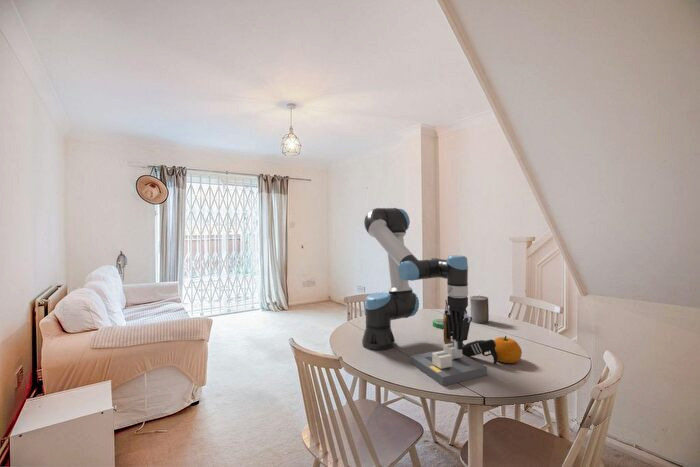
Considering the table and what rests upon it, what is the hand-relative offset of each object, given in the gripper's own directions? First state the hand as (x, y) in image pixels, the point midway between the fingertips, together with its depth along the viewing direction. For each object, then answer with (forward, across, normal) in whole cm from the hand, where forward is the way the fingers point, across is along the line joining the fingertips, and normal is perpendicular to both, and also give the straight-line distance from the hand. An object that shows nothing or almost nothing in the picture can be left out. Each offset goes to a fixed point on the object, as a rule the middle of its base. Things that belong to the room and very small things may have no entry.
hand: (458, 356), depth 124 cm
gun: (+5, -3, +12) cm, 14 cm away
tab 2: (+1, -3, 0) cm, 3 cm away
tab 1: (+1, +2, -9) cm, 9 cm away
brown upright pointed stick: (+5, -21, +16) cm, 27 cm away
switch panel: (+4, -1, -4) cm, 6 cm away
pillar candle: (+5, -43, +52) cm, 68 cm away
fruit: (+5, +2, +22) cm, 23 cm away
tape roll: (+5, -45, +28) cm, 54 cm away
